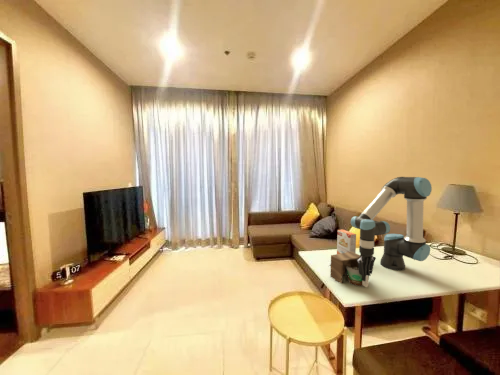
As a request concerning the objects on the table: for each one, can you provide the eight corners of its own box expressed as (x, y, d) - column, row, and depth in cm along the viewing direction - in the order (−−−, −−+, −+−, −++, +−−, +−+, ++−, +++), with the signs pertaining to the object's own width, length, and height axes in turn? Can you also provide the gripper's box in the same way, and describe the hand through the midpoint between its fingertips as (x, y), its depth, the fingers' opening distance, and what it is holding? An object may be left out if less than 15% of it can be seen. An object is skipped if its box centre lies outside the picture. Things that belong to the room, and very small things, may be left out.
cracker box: (336, 254, 180) (337, 229, 178) (342, 253, 182) (343, 229, 180) (349, 261, 167) (350, 234, 165) (355, 260, 169) (356, 233, 167)
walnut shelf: (350, 271, 150) (351, 251, 149) (361, 277, 142) (362, 256, 141) (330, 276, 144) (331, 255, 143) (340, 283, 136) (341, 260, 134)
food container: (346, 285, 133) (347, 269, 132) (345, 280, 139) (346, 265, 138) (369, 288, 130) (370, 272, 129) (367, 283, 135) (367, 267, 135)
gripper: (369, 243, 133) (367, 280, 135) (352, 246, 129) (351, 284, 131) (380, 247, 127) (378, 286, 128) (363, 250, 122) (362, 291, 124)
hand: (365, 285), depth 130 cm, fingers closed
